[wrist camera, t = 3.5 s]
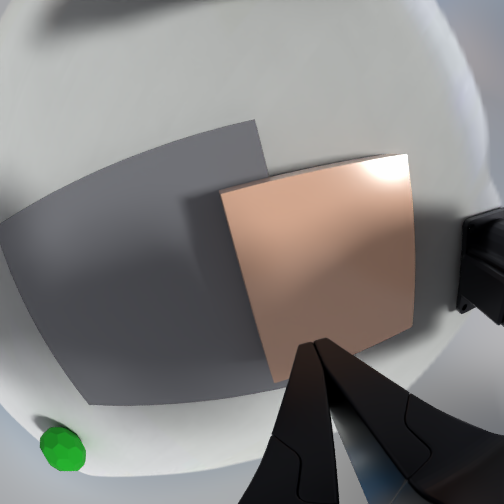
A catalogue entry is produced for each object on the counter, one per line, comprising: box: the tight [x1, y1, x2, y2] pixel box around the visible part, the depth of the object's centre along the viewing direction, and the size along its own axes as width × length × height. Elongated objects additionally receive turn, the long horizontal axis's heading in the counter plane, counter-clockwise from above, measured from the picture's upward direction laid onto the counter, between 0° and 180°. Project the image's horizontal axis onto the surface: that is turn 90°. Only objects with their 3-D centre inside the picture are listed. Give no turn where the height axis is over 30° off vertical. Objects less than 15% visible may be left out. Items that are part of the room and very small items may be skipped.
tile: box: [219, 154, 415, 383], centre depth 12 cm, size 2×9×8 cm
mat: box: [0, 119, 289, 406], centre depth 13 cm, size 16×14×1 cm
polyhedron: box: [40, 427, 86, 471], centre depth 16 cm, size 5×5×5 cm
